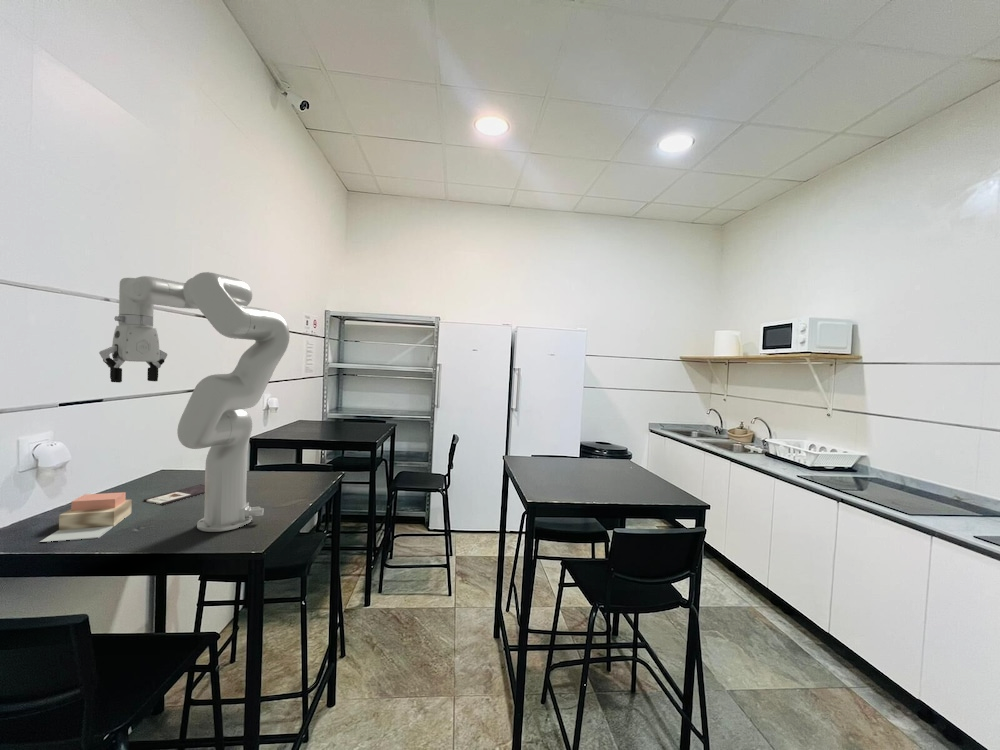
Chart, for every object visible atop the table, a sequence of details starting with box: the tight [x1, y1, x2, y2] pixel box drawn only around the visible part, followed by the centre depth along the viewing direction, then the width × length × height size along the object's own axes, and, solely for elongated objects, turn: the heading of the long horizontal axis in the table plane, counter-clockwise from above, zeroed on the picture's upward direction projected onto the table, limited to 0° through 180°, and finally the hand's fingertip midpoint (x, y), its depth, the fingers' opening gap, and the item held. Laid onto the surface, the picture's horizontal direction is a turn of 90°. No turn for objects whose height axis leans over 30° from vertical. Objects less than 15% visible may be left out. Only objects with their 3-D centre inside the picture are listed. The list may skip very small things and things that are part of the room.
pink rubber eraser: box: [70, 491, 127, 511], centre depth 115 cm, size 9×6×2 cm, turn 111°
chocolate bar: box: [143, 484, 205, 506], centre depth 138 cm, size 9×1×18 cm
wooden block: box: [58, 498, 133, 530], centre depth 114 cm, size 11×10×4 cm
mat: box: [39, 526, 114, 543], centre depth 105 cm, size 11×7×1 cm, turn 111°
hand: (135, 381), depth 123 cm, fingers open, 9 cm apart
